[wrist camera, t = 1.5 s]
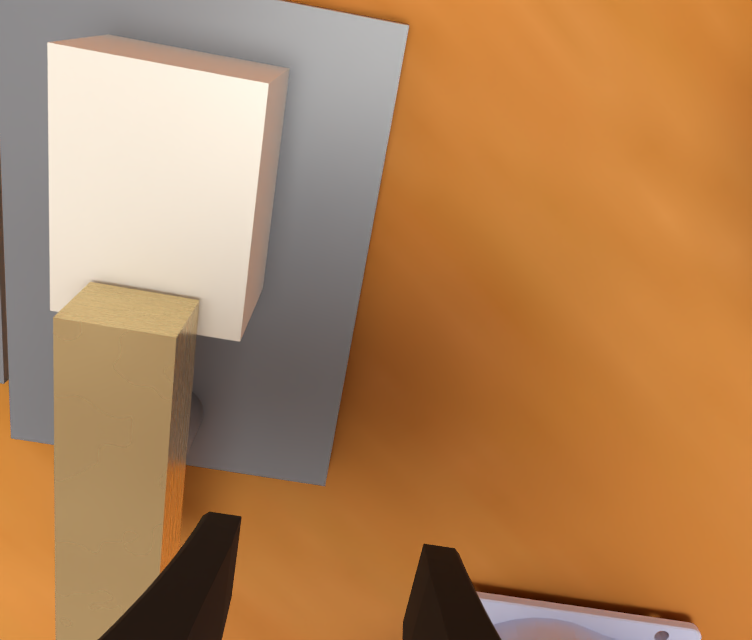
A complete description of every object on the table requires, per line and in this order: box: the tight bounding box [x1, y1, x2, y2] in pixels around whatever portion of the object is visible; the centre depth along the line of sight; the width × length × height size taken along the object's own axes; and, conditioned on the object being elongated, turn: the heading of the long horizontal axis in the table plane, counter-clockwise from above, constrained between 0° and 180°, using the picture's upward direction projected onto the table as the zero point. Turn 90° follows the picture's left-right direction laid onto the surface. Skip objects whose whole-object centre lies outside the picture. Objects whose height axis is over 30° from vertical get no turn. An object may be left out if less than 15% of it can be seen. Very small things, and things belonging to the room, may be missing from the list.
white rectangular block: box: [47, 34, 290, 342], centre depth 17 cm, size 4×6×4 cm
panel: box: [0, 0, 409, 486], centre depth 19 cm, size 10×14×5 cm
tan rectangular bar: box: [53, 282, 200, 640], centre depth 18 cm, size 2×11×2 cm, turn 170°
